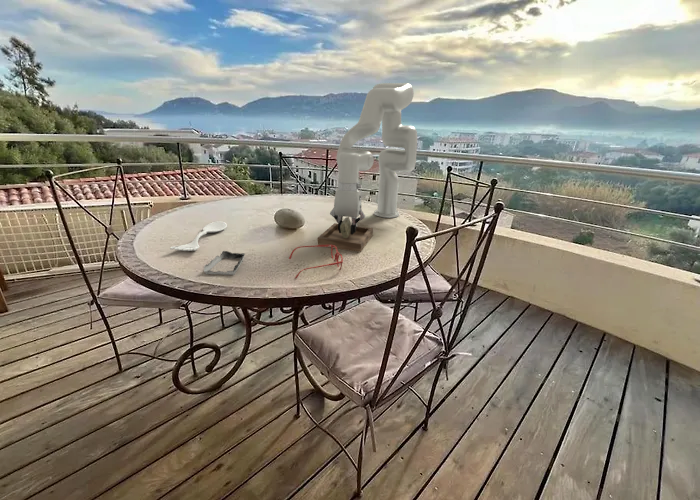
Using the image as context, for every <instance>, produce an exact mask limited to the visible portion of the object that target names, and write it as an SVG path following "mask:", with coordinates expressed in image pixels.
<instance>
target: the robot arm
mask: <svg viewBox="0 0 700 500" xmlns="http://www.w3.org/2000/svg"><path fill="white" fill-rule="evenodd" d="M413 98H414V89H413V86H412V84H411V83H408V82H382V83H381V82H380V83H377V84H375V85H373V87H372V89H369V91H368V92H367V93H366V97H365V99H364V102H363V107H362V110H361V112H360V116H359V119H358V122H357V123H356V124H355V125H354V126H352V127H350V129H349V130H347V132H346V133H344V135H343V136H342V138H341V141H340V143H339V145H338V146H339V147H338V149H337V153H336V163H337V170H338V171H337V173H338V174H337V188H336V190H335V195H334V201H333V203H334V204H333V208H332V209H331V211H330V212H329V215H330V216H331V217H332V218H334V219H335V221H336V222H337V223H336V224H338V230H339V233H341V229H340V226H341V223H342V222H343V217H345V218H346V217H349V218H350V219H351V235H353V234H354V233H355V232H356V223H357V224H358V223H359V222H360V221H363V220H364V219H365V218H366V215H365V214H364V211H363V210H362V209H363V208H362V206H363V205H362V204H363V203H362V194H361V193H362V192H361V190H359V189H362V188H363V185H362V184H360V183H359V182H360V181H359V173H360V172H366V171H369V170H370V169H372V167H373V166H374V163H375V162H374V161H375V157H374V155H373V153H372V152H370V151H369V150H366V149H365V150H363V149H355V148H354V149H353V148H352V147H353V146H354V144H356V143H357V142H359V141H360V140H363V139H365V138H367V137H370V136H372V135H375V134H376V133H378V132H379V130H380V128H381V140H382V144H383V145H384V146H386V147H390V148H387V149H382V150H381V151H380V152H379V154H378V168H379V176H378V177H379V179H378V180H379V181H378V193H377V195H378V196H377V209H375V210H373V211H374V212H373V214H374V216H376V217H380V218H385V219H389V218H390V219H392V218H397V217H399V216H400V212H399V211H398V210H397V208H398V197H399V196H398V195H399V184H400V178H399V176H398V174H397V172H404V173H406V172H407V173H409V172H412V171H413V170H414V169H415V167H416V164H417V163H416V162H417V153H418V152H417V149H418V131H417V129H416V128H415V126H414V125H408V124H407V125H405V124H402V110H404V109H406V108H407V107H408V106H409V105H411V103H412V101H413ZM391 147H392V148H391ZM395 148H401V149H395ZM402 148H403V149H402Z"/></svg>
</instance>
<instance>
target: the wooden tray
mask: <svg viewBox="0 0 700 500" xmlns="http://www.w3.org/2000/svg"><path fill="white" fill-rule="evenodd" d="M357 228H358V230H357ZM357 228H356V232H355V233H354V234H353V235H351V232H350V234H349V236H348V238H343V236H342V233H339V230H338V223H336V222H334V223H333V224H332V225H330V227H328V228H327V229H325V231H324V232H323V233H321V234H320V235H319V236H318V237H317V245H334V246H336V247H337V250H344V251H350V252H358V253H361V252H362V251H363V250H364V249H365V247H366V245H367V244H368V243H369V241H370V240H371V238H372V237H373V236H374V235H373V234H374V228H373V227H366V226H360V225H359V226H358V225H357ZM328 248H331V247H328ZM333 249H336V248H335V247H333Z"/></svg>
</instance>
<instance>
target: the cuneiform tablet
mask: <svg viewBox="0 0 700 500" xmlns="http://www.w3.org/2000/svg"><path fill="white" fill-rule="evenodd" d="M342 221H343V222H342V223H341V226H340V229H341V233H342V236H343V238H348V236H349V234H350V232H351V225H352V221H351V217H345V218H344V219H342ZM357 226H358V223H356V228H357ZM357 230H358V228H357Z"/></svg>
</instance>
